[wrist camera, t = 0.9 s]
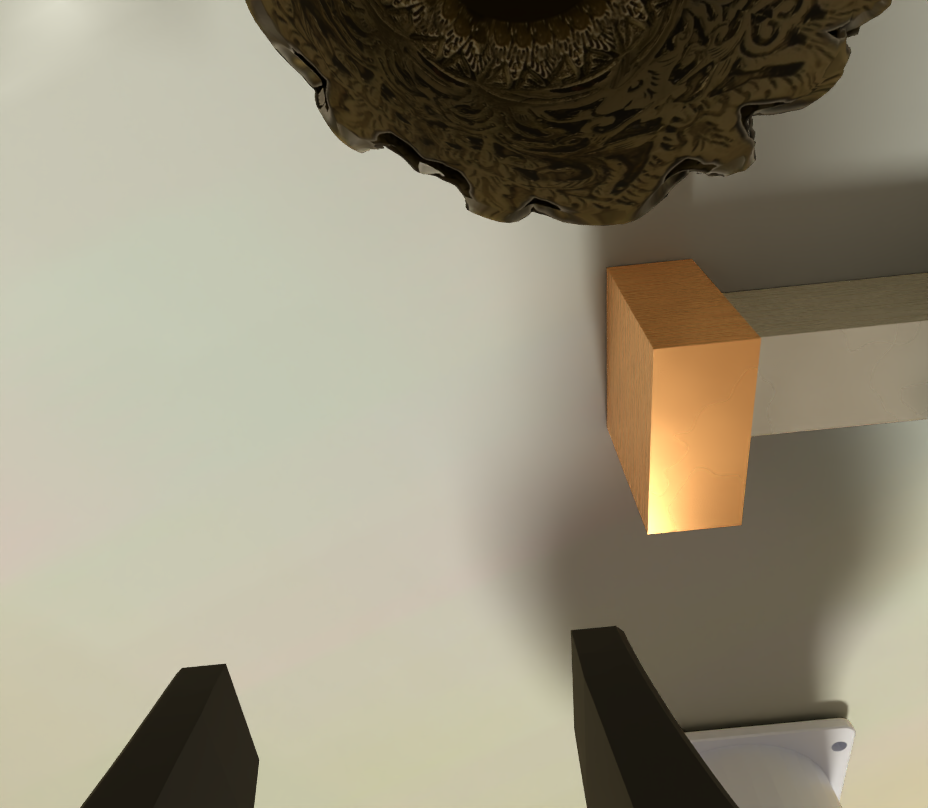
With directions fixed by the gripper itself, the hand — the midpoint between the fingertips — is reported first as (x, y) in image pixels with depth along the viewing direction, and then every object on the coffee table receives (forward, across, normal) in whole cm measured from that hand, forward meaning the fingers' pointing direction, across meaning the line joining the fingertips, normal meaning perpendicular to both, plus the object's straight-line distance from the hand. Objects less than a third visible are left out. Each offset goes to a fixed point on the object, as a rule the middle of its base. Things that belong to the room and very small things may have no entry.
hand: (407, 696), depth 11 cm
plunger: (+10, -13, 0) cm, 16 cm away
